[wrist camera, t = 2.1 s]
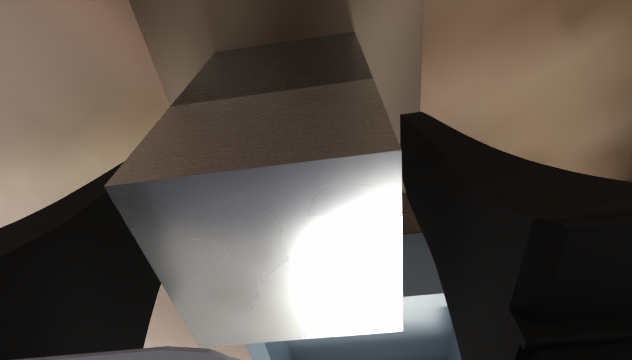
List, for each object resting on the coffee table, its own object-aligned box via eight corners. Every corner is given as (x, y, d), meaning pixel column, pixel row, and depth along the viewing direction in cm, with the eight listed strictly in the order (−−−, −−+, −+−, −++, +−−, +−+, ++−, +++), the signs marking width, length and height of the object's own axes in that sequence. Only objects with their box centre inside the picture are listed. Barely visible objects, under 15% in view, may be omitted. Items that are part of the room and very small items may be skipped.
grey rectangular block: (354, 31, 13) (401, 150, 6) (364, 154, 16) (402, 330, 9) (215, 52, 13) (103, 186, 6) (249, 168, 16) (199, 347, 9)
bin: (478, 226, 19) (511, 287, 16) (458, 355, 27) (478, 414, 23) (244, 250, 20) (230, 312, 17) (287, 368, 28) (283, 427, 24)
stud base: (418, -60, 12) (472, -56, 8) (414, 181, 18) (444, 257, 14) (134, -13, 13) (49, 13, 9) (217, 204, 18) (189, 282, 14)
